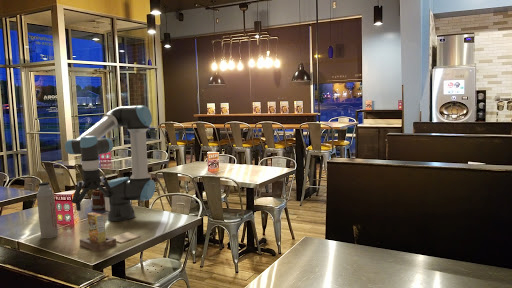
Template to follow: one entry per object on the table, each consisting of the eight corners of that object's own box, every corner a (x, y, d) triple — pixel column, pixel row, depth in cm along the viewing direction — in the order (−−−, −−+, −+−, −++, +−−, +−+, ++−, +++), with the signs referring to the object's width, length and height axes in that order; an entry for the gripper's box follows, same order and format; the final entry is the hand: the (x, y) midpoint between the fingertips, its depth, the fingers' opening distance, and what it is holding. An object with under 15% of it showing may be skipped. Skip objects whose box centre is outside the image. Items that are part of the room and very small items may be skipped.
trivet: (127, 233, 217) (127, 232, 217) (140, 236, 210) (140, 235, 210) (108, 239, 208) (108, 238, 208) (121, 243, 201) (120, 242, 201)
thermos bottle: (61, 233, 221) (56, 181, 218) (51, 238, 213) (45, 184, 210) (48, 233, 223) (42, 181, 220) (37, 238, 215) (31, 184, 212)
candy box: (89, 244, 202) (86, 213, 200) (97, 242, 205) (94, 211, 203) (98, 248, 196) (95, 216, 194) (107, 245, 199) (104, 214, 197)
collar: (99, 239, 209) (98, 233, 208) (116, 245, 199) (115, 238, 199) (80, 245, 201) (79, 239, 201) (97, 251, 192) (96, 245, 191)
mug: (109, 203, 281) (107, 182, 277) (112, 212, 268) (111, 190, 265) (90, 206, 275) (88, 185, 271) (93, 215, 263) (91, 192, 259)
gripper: (110, 164, 208) (113, 207, 210) (60, 172, 189) (65, 219, 191) (119, 165, 203) (122, 208, 206) (69, 174, 184) (73, 221, 186)
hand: (94, 214), depth 198 cm, fingers open, 13 cm apart
